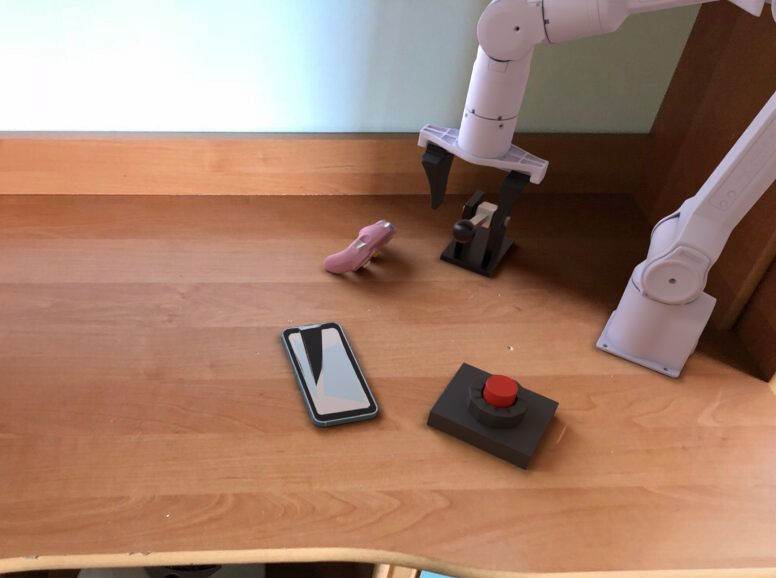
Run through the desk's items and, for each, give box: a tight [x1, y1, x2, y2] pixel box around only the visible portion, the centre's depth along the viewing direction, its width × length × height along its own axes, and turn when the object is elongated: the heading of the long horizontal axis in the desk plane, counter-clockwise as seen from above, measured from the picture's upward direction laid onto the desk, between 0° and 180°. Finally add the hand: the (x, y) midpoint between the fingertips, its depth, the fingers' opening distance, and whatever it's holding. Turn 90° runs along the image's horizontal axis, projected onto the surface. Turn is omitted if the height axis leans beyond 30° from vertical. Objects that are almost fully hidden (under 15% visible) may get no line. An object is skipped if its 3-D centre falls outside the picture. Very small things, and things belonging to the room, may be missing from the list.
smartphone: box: [280, 321, 379, 428], centre depth 89 cm, size 7×1×15 cm
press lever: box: [451, 201, 498, 243], centre depth 99 cm, size 12×3×3 cm, turn 148°
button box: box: [426, 361, 560, 471], centre depth 84 cm, size 11×9×4 cm
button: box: [483, 374, 518, 408], centre depth 82 cm, size 3×3×2 cm
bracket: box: [439, 189, 515, 279], centre depth 104 cm, size 9×7×8 cm
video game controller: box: [323, 219, 398, 274], centre depth 103 cm, size 10×5×7 cm, turn 143°
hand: (466, 215), depth 95 cm, fingers open, 7 cm apart
